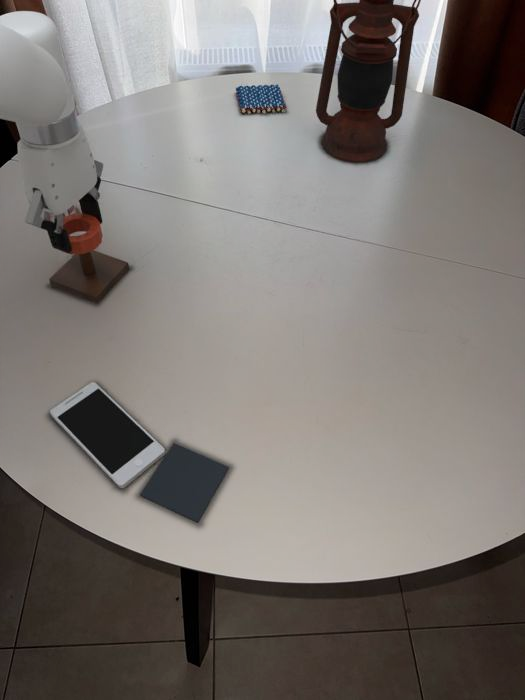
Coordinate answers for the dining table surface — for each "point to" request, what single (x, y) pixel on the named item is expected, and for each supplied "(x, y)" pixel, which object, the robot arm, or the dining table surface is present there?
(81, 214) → the ring
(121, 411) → the smartphone
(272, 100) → the blue beaded mat
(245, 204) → the dining table surface
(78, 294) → the ring holder
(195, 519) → the coaster
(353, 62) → the lantern
